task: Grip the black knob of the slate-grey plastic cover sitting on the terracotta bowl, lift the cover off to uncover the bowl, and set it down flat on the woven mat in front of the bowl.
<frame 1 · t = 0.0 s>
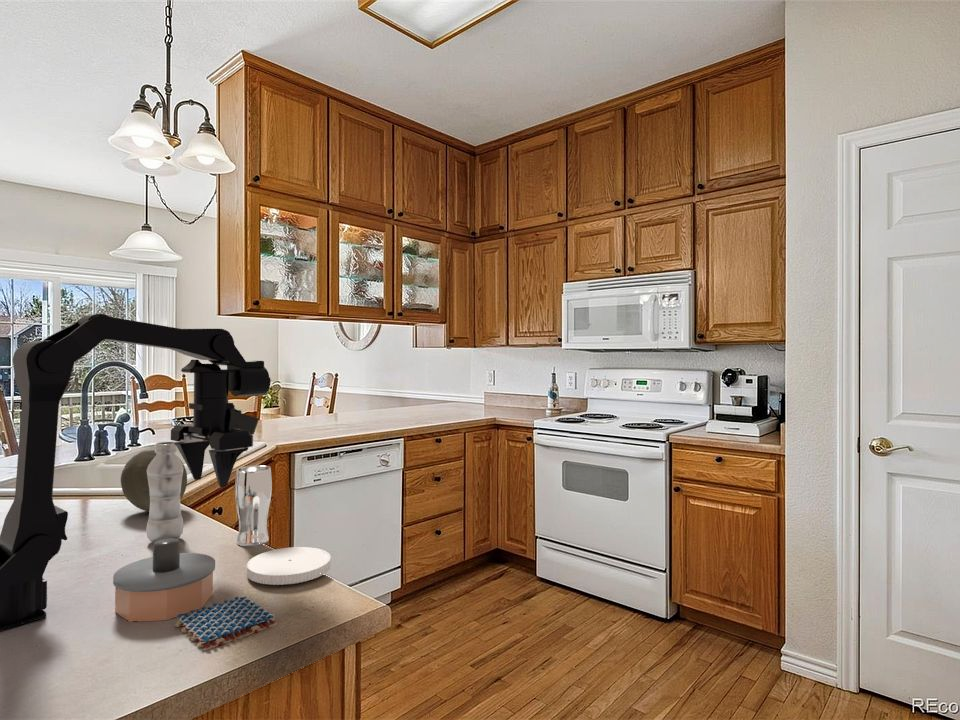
hand: (210, 483, 102), 15 cm above the countertop, fingers open, 9 cm apart
cover: (166, 573, 86), point 4 cm above the countertop, touching bowl
plastic lid: (289, 575, 99), on the countertop
plastic bottle: (164, 542, 114), on the countertop
cantaloupe: (153, 513, 135), on the countertop
woven mat: (226, 630, 79), on the countertop
bowl: (165, 602, 86), on the countertop
beer glass: (252, 542, 115), on the countertop
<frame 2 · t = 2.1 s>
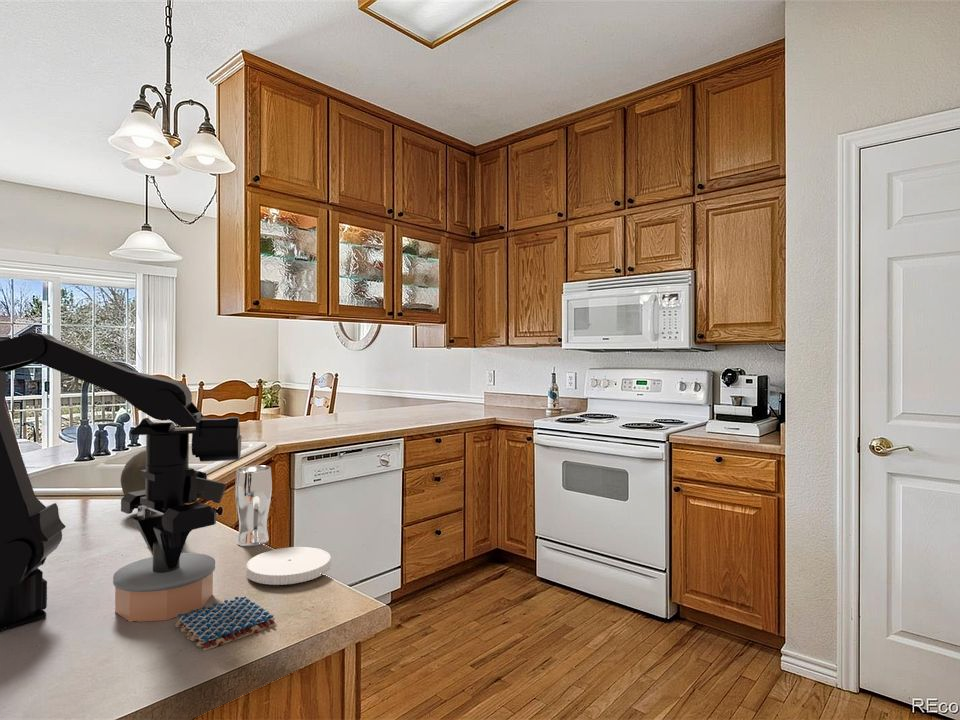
hand: (166, 564, 86), 6 cm above the countertop, fingers closed on cover, 4 cm apart
cover: (166, 573, 86), point 4 cm above the countertop, touching bowl, gripper
everything else where it was.
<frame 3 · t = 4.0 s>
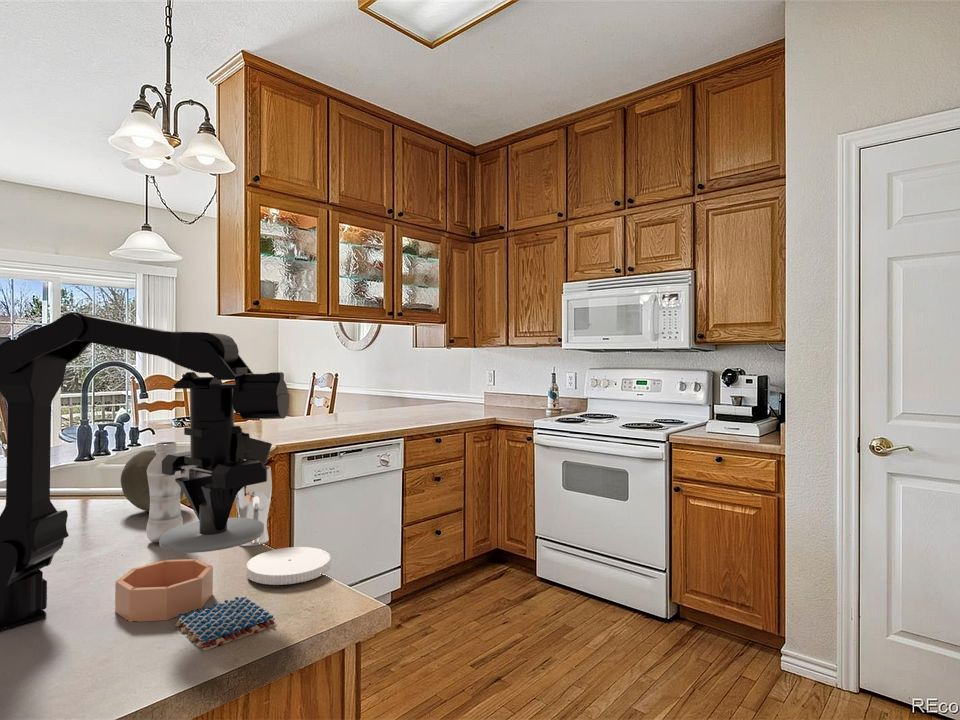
hand: (213, 527, 81), 13 cm above the countertop, fingers closed on cover, 4 cm apart
cover: (213, 536, 81), point 12 cm above the countertop, touching gripper
everything else where it was.
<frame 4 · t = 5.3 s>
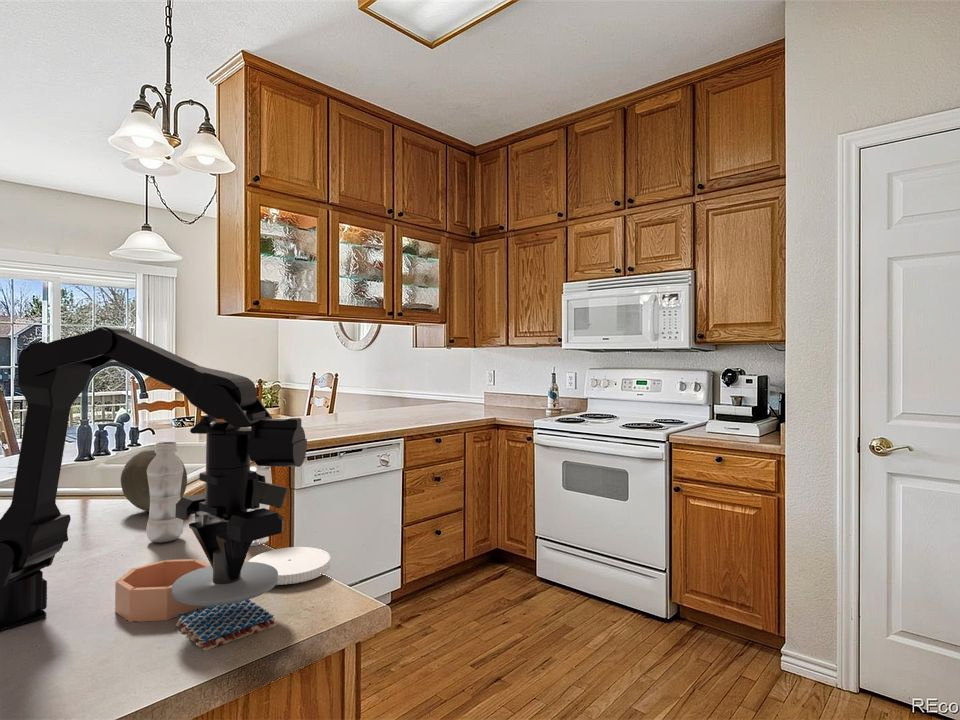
hand: (226, 575, 79), 7 cm above the countertop, fingers closed on cover, 4 cm apart
cover: (226, 584, 79), point 6 cm above the countertop, touching gripper
everything else where it was.
when the fingers open (5 cm above the countertop, at t = 6.0 s): cover drops 2 cm, point 1 cm above the countertop.
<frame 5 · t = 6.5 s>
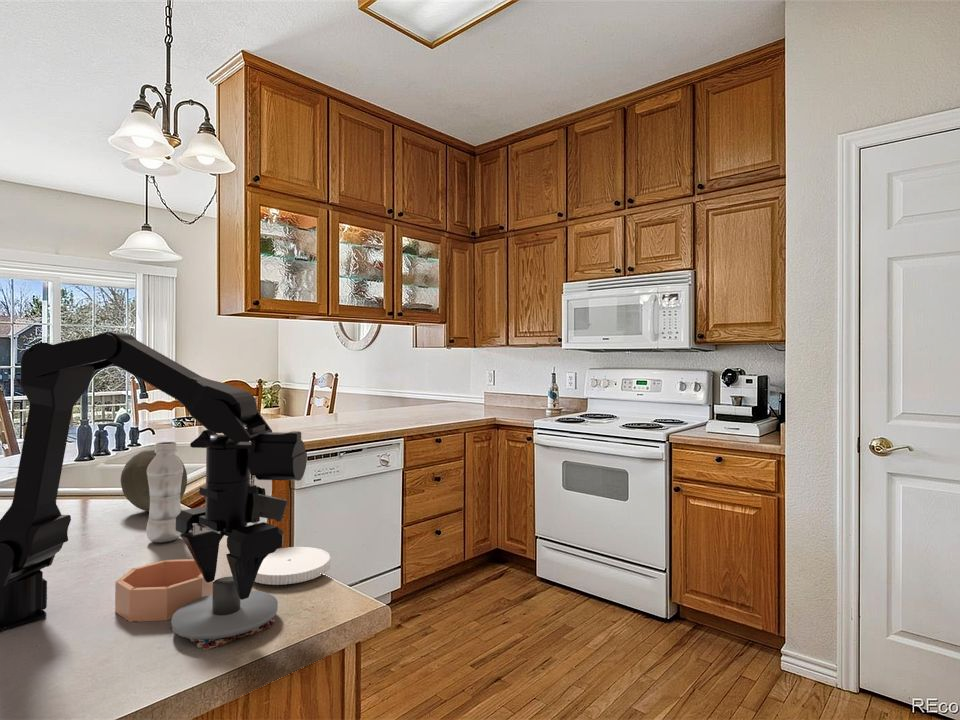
hand: (226, 589, 79), 5 cm above the countertop, fingers open, 9 cm apart
cover: (226, 615, 79), point 1 cm above the countertop
everything else where it was.
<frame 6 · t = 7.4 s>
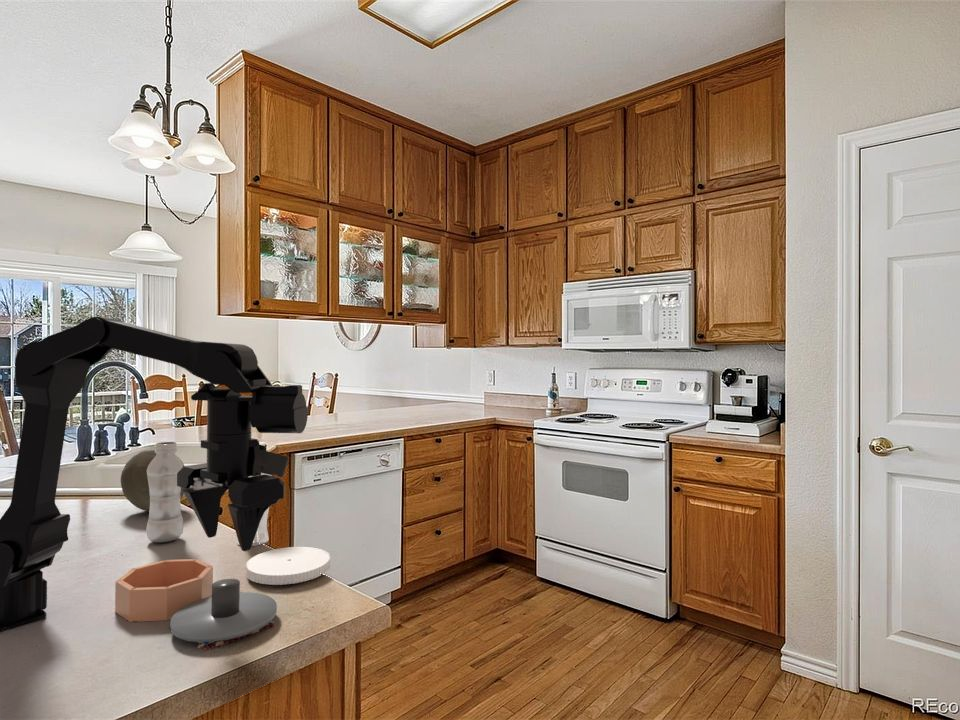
hand: (228, 543, 79), 12 cm above the countertop, fingers open, 9 cm apart
cover: (225, 617, 79), point 1 cm above the countertop, touching woven mat
woven mat: (226, 633, 79), on the countertop, touching cover
everything else where it was.
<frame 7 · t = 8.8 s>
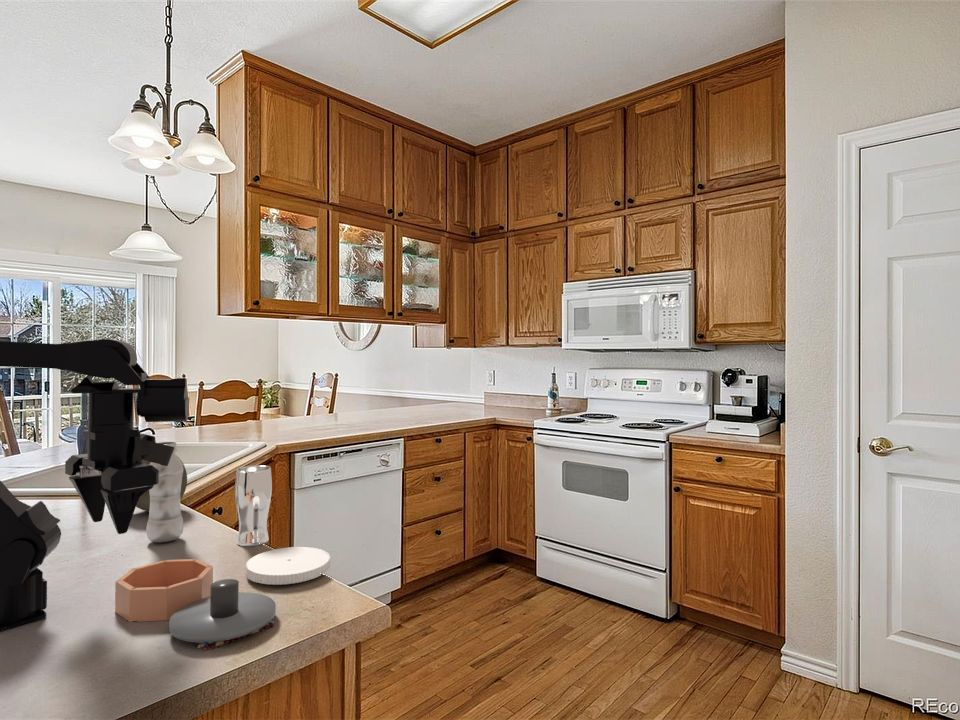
hand: (109, 527, 84), 12 cm above the countertop, fingers open, 9 cm apart
nothing on the countertop moved.
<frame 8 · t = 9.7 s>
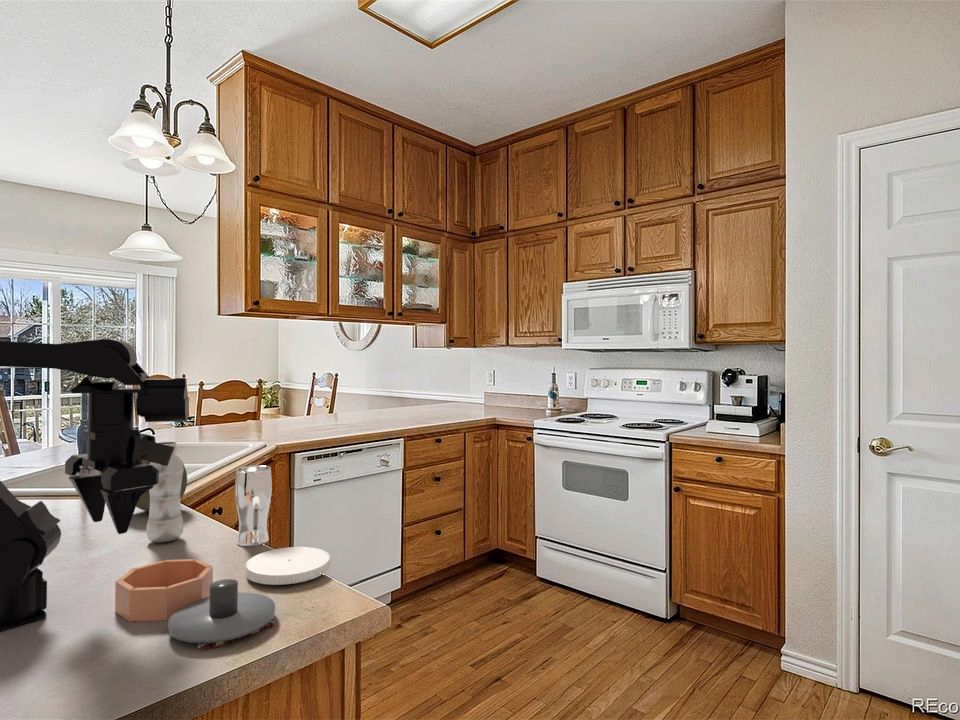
hand: (109, 527, 84), 12 cm above the countertop, fingers open, 9 cm apart
nothing on the countertop moved.
at the end: cover inside the target area on the woven mat (0.4 cm from its centre), point 2.2 cm above the woven mat's base; cover tilted 0°; the gripper is holding nothing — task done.
